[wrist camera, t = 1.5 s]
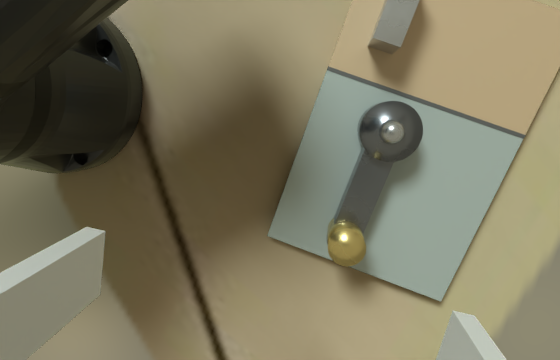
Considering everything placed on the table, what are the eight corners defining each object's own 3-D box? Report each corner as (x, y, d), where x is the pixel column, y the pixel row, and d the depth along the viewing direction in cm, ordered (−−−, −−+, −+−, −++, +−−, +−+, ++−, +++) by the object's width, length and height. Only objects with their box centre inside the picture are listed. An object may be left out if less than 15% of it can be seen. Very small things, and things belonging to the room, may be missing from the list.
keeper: (367, 46, 27) (372, 37, 24) (393, -22, 26) (402, -40, 23) (392, 54, 27) (400, 47, 24) (418, -13, 26) (431, -30, 23)
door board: (269, 231, 33) (267, 236, 31) (369, -46, 27) (371, -54, 26) (436, 294, 32) (441, 301, 31) (573, 21, 26) (585, 17, 25)
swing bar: (369, 94, 28) (377, 91, 24) (423, 112, 28) (440, 113, 24) (313, 235, 31) (312, 254, 27) (362, 253, 30) (367, 275, 26)
